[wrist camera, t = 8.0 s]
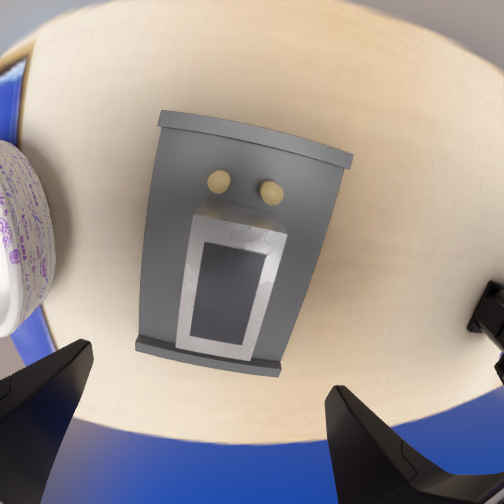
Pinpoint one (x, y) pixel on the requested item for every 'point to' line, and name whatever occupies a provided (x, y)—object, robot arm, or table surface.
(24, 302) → the paper bowls
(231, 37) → the table surface
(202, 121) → the tray
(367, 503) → the robot arm
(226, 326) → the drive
